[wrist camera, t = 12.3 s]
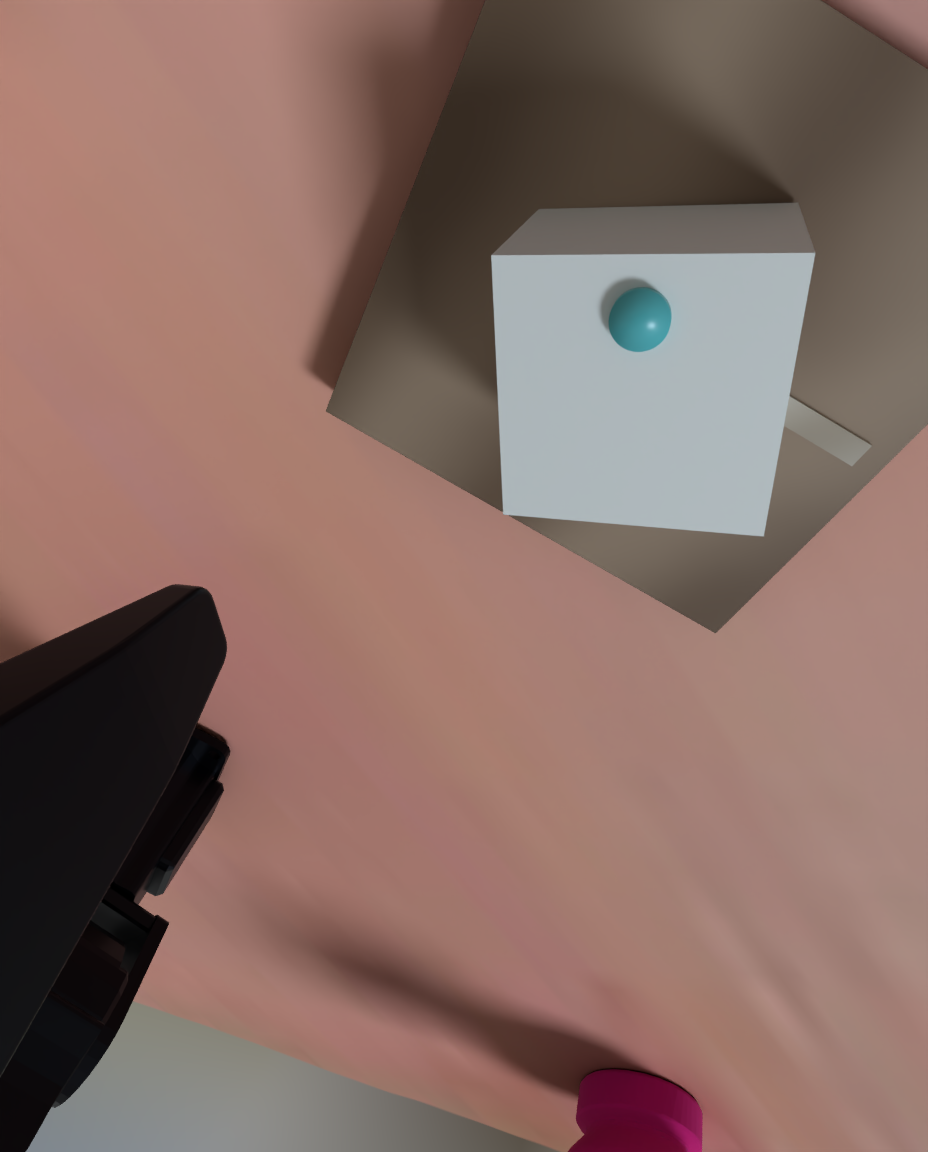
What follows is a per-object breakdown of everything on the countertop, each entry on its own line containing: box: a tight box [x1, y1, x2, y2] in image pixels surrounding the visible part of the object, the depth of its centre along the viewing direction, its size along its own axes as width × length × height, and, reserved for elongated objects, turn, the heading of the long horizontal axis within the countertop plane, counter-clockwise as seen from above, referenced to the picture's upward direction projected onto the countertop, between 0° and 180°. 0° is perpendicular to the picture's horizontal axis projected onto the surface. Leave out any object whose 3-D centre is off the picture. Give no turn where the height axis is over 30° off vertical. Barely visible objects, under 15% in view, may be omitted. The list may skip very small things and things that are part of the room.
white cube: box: [491, 203, 815, 536], centre depth 15 cm, size 5×5×4 cm
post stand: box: [326, 0, 928, 633], centre depth 16 cm, size 12×12×4 cm
